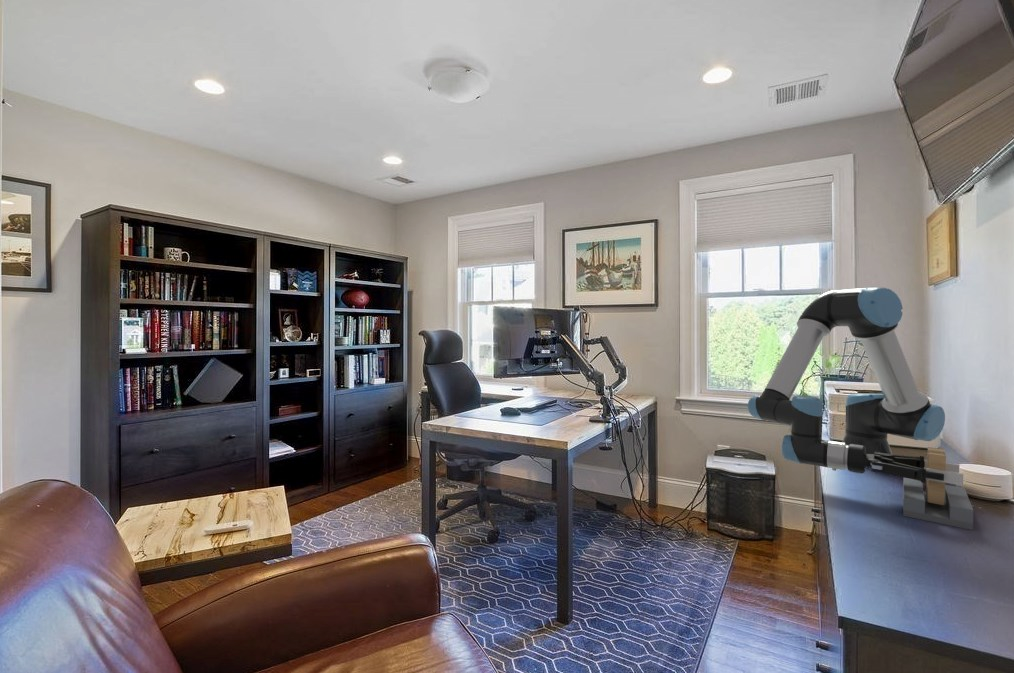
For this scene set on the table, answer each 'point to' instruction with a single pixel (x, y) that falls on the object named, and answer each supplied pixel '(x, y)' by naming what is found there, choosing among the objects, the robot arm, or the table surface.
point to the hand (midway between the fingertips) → (961, 474)
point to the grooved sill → (938, 505)
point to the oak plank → (935, 488)
